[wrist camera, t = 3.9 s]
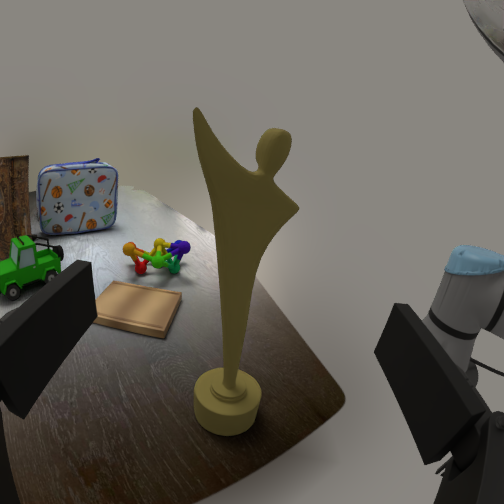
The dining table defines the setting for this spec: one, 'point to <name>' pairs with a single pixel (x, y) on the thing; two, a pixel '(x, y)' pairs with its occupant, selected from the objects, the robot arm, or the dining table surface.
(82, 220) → the lunch box
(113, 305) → the serving board
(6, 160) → the book
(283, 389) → the dining table surface
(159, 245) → the decorative model
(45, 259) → the toy car
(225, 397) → the sculpture
